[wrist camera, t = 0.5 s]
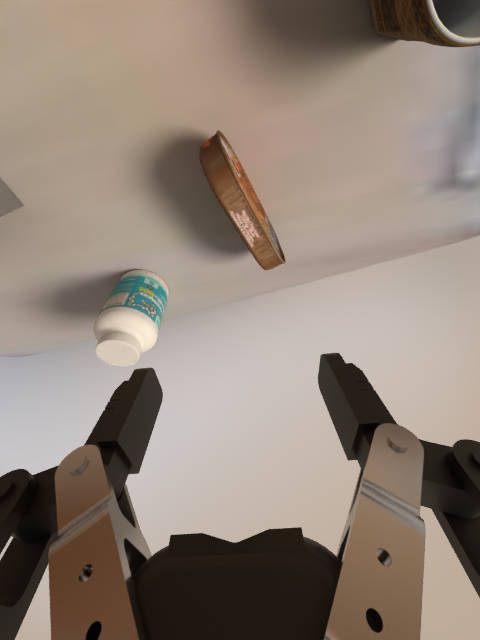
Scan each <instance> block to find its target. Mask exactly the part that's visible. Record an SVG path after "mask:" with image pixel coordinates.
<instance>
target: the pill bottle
mask: <svg viewBox="0 0 480 640" xmlns="http://www.w3.org/2000/svg"><path fill="white" fill-rule="evenodd" d="M168 296H169V293H168V288H167V286H166V284H165V282H164V281H163V280H162V279H161V278H160V277H158V276H157V275H156V274H154V273H152V272H149V271H145V270H133V271H130V272H128V273H126V274H124V275H123V276H122V278H121V279H120V281H119V282H118V284H117V285H116V287H115V289H114V290H113V292H112V294H111V295H110V297H109V299H108V300H107V302H106V304H105V305H104V307H103V309H102V310H101V312H100V314H99V315H98V317H97V319H96V321H95V323H94V333H95V336H96V338H97V340H98V341H99V342H98V344H97V346H96V354H97V356H98V357H99V358H100V359H101V360H103V361H104V362H106V363H108V364H111V365H114V366H130V365H133V364H134V363H136V362H137V361H138V359H139V356H140V354H141V353H143V352H146V351H147V350H149V349H150V348H151V347H152V346H153V345H154V344H155V342H156V340H157V336H158V333H159V329H160V325H161V322H162V318H163V315H164V311H165V308H166V304H167V300H168Z"/></svg>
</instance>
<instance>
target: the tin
mask: <svg viewBox="0 0 480 640" xmlns="http://www.w3.org/2000/svg"><path fill="white" fill-rule="evenodd" d="M200 162H201V165H202V168H203V171H204V173H205V175H206V178H207V180H208V182H209V184H210V186H211V188H212V190H213V192H214V193H215V195H216V197H217V199H218V200H219V202H220V204H221V205H222V207H223V209H224V210H225V212H226V214H227V215H228V217H229V218H230V220H231V222H232V223H233V225H234V227H235V228H236V230H237V231H238V233H239V234H240V236H241V238H242V239H243V241H244V242H245V244H246V245H247V247H248V249H249V250H250V252H251V253H252V255H253V256H254V258H255V260H256V261H257V262H258V264H259V265H260V266H261V267H262V268H263V269H264V270H270V269H272V268H274V267H276V266H278V265H280V264H282V263H283V264H284V263H285V257H284V254H283V251H282V249H281V246H280V244H279V241H278V238H277V236H276V234H275V231H274V229H273V227H272V225H271V223H270V221H269V219H268V217H267V215H266V213H265V211H264V209H263V207H262V205H261V203H260V201H259V199H258V197H257V195H256V193H255V191H254V189H253V187H252V185H251V183H250V181H249V179H248V177H247V175H246V173H245V171H244V169H243V168H242V166H241V164H240V162H239V160H238V158H237V156H236V154H235V153H234V151H233V149H232V147H231V146H230V144H229V142H228V141H227V139H226V138H225V136H224V135H223V134H222V133H221V132H220V131H219V130H218V131H217V133H216V134H215V135H214V136H213V137H212V138H211V139H209V140H208V141H207V142H205V143H204V144H203V145H202V146H201V148H200Z"/></svg>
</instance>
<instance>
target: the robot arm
mask: <svg viewBox="0 0 480 640" xmlns="http://www.w3.org/2000/svg"><path fill="white" fill-rule="evenodd" d="M318 384H319V388H320V391H321V394H322V396H323V399H324V401H325V404H326V406H327V409H328V411H329V414H330V416H331V419H332V421H333V424H334V426H335V429H336V431H337V434H338V436H339V439H340V441H341V444H342V447H343V449H344V452H345V454H346V456H347V459H348V460H358V463H359V465H360V467H361V470H360V473H359V477H358V481H357V485H356V488H355V492H354V496H353V499H352V503H351V507H350V511H349V514H348V518H347V521H346V524H345V527H344V531H343V534H342V537H341V541H340V544H339V548H338V552H337V556H335V555H334V554H333V553H332V552H331V551H329V550H328V549H327V548H326V547H324V546H322V545H321V544H319V543H318V542H316V541H313V540H311V539H309V538H306V537H303V534H302V529H301V528H284V529H269V530H266V531H264V532H261V533H259V534H257V535H254V536H252V537H250V538H247V539H245V540H242V541H240V542H237V543H232V542H229V541H226V540H222V539H219V538H216V537H213V536H210V535H206V534H203V533H198V534H182V535H171V536H170V542H169V546H167V547H165V548H163V549H161V550H160V551H158V552H157V553H155V554H154V555H153V556H152V555H151V552H150V550H149V547H148V545H147V543H146V540H145V539H144V537H143V535H142V533H141V530H140V527H139V524H138V521H137V518H136V515H135V512H134V508H133V506H132V502H131V499H130V496H129V492H128V489H127V486H126V484H125V482H126V479H127V476H128V474H137V473H139V471H140V467H141V465H142V461H143V458H144V455H145V452H146V449H147V446H148V443H149V440H150V437H151V434H152V431H153V428H154V424H155V421H156V418H157V415H158V412H159V409H160V405H161V403H162V397H163V393H162V389H161V386H160V384H159V381H158V378H157V376H156V373H155V371H154V369H153V368H141V369H135V370H134V372H133V373H132V375H131V377H130V379H129V381H124V382H123V383H122V384H121V385H120V386H119V387H118V388H117V389H116V390H115V392H114V394H113V395H112V397H111V399H110V402H108V404H107V406H106V408H105V410H104V411H103V413H102V415H101V416H100V418H99V420H98V422H97V424H96V426H95V427H94V429H93V431H92V433H91V434H90V436H89V438H88V440H87V441H86V443H85V445H84V446H82V447H79V448H77V449H75V450H74V451H72V452H71V453H70V454H68V456H66V457H65V458H64V460H63V461H62V462H61V463H60V465H59V466H56V467H54V468H51V469H48V470H45V471H43V472H40V473H37V474H35V475H31V474H30V473H29V472H28V471H27V470H24V469H17V470H14V471H11V472H9V473H7V474H5V475H3V476H2V477H0V554H1V552H2V550H3V549H4V547H5V545H6V543H7V542H8V540H9V538H10V536H12V537H14V538H13V539H12V541H11V543H10V545H9V546H8V548H7V550H6V552H5V553H4V555H3V557H2V559H1V560H0V640H15V637H16V635H17V633H18V630H19V628H20V626H21V624H22V622H23V619H24V617H25V615H26V613H27V610H28V608H29V606H30V603H31V601H32V599H33V597H34V594H35V592H36V590H37V588H38V585H39V583H40V581H41V579H42V576H43V574H44V572H45V569H46V567H47V565H48V563H49V589H50V615H51V616H50V617H51V640H420V629H421V610H422V592H423V591H422V590H423V573H424V554H425V553H424V552H425V523H424V520H423V519H421V517H420V505H421V506H425V507H428V508H431V509H432V510H433V512H434V514H435V516H436V518H437V520H438V522H439V523H440V525H441V527H442V529H443V531H444V532H445V534H446V536H447V538H448V540H449V542H450V544H451V546H452V547H453V549H454V551H455V553H456V554H457V557H458V558H459V560H460V562H461V564H462V566H463V568H464V569H465V572H466V573H467V575H468V577H469V579H470V581H471V582H472V584H473V586H474V588H475V590H476V592H477V594H478V595H479V597H480V442H477V441H473V440H459V441H457V442H456V443H455V444H454V445H453V447H449V446H445V445H440V444H435V443H431V442H427V441H423V440H420V439H418V438H417V437H416V436H415V435H414V434H413V433H412V432H410V431H409V430H407V429H406V428H404V427H402V426H399V425H398V424H397V423H396V422H395V420H394V419H393V417H392V416H391V415H390V413H389V411H388V410H387V409H386V407H385V405H384V404H383V402H382V401H381V399H380V398H379V396H378V394H377V393H376V391H374V389H373V387H372V385H371V384H370V383H369V382H368V379H367V378H366V376H365V375H364V373H363V372H362V370H360V369H359V368H357V367H356V366H355V365H354V364H353V363H348V364H346V363H345V362H344V360H343V358H342V356H341V355H340V354H339V353H330V354H322V355H321V358H320V366H319V374H318Z"/></svg>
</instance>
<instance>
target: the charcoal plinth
mask: <svg viewBox="0 0 480 640" xmlns="http://www.w3.org/2000/svg"><path fill="white" fill-rule="evenodd" d="M21 206H23V204H22V203H21V201H20V200H19V199H18V198H17V197H16V196H15V194H14V193H13V192H12V191H11V190H10V189H9V187H8V186H7V185H6V184H5V183H4V182H3V180H2V179H1V178H0V217H1V216H3V215H5V214H7V213H9V212H11V211H13V210H15V209H17V208H19V207H21Z"/></svg>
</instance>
